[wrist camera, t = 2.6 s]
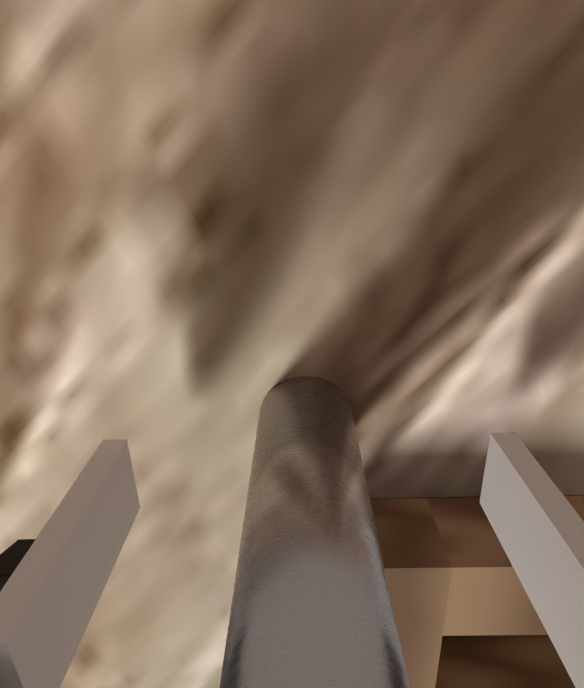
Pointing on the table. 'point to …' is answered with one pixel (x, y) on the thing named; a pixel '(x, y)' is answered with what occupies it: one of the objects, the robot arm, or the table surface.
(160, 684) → the table surface
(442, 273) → the table surface
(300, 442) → the pin
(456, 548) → the slot block
